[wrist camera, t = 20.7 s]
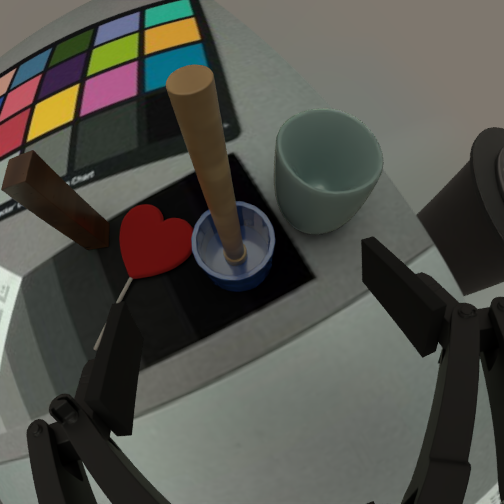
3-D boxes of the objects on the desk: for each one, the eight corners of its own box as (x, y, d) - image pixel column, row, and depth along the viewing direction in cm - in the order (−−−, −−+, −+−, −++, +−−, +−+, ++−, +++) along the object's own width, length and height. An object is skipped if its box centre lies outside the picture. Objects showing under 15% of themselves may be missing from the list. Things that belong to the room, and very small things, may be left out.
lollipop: (130, 372, 26) (205, 231, 29) (126, 373, 25) (203, 228, 29) (69, 327, 27) (138, 200, 31) (64, 326, 26) (135, 196, 30)
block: (109, 223, 30) (33, 149, 17) (108, 246, 30) (25, 181, 16) (89, 227, 30) (9, 159, 17) (87, 250, 30) (0, 189, 16)
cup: (289, 256, 29) (302, 210, 19) (260, 185, 31) (259, 119, 21) (363, 230, 29) (402, 179, 20) (330, 164, 31) (352, 99, 22)
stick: (245, 243, 28) (217, 56, 9) (248, 264, 28) (221, 93, 9) (223, 245, 28) (161, 67, 9) (225, 267, 28) (157, 104, 9)
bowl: (267, 220, 30) (268, 195, 25) (277, 287, 28) (280, 274, 23) (200, 229, 30) (189, 206, 25) (206, 296, 28) (194, 285, 23)
